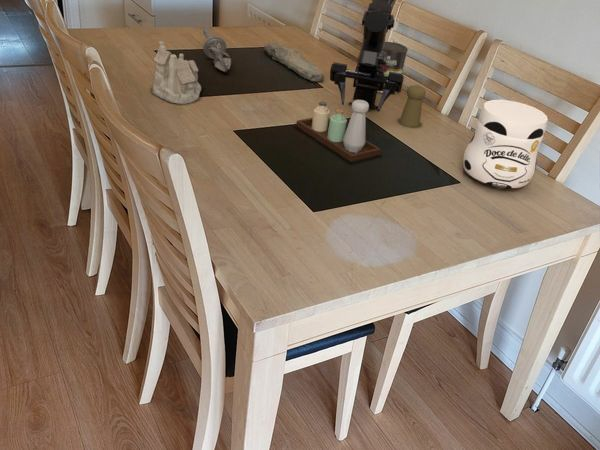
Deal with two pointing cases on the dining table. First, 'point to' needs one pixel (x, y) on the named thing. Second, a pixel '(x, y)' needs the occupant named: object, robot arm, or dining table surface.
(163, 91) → the ceramic cottage
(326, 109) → the cream bottle
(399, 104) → the dining table surface
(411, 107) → the olive pawn
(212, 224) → the dining table surface
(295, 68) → the long grey stone
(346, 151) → the tray
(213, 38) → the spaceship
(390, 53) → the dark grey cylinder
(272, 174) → the dining table surface
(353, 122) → the salt shaker
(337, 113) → the sage bottle
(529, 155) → the doce de leite jar
